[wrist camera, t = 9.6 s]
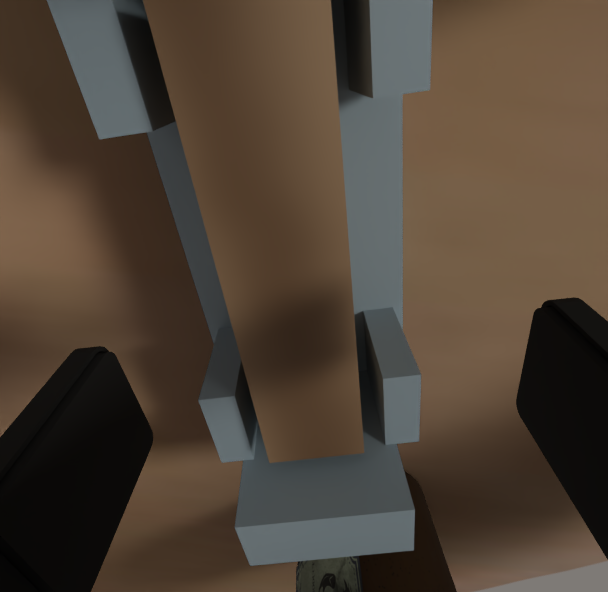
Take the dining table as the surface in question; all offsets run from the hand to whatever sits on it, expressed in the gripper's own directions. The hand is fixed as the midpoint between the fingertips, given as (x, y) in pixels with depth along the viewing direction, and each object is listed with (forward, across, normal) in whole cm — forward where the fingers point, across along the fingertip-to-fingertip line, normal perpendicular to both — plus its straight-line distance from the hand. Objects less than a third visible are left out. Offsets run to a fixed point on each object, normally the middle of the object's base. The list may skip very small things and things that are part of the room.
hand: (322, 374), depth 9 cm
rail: (+10, +1, 0) cm, 10 cm away
